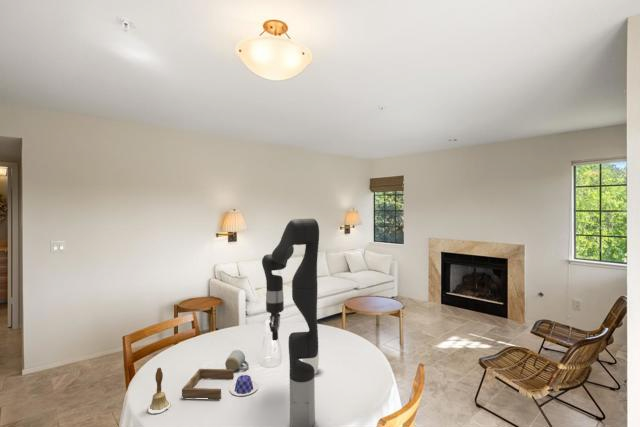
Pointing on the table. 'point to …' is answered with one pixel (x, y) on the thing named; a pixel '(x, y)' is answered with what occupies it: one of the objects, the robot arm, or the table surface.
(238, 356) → the ceramic mug
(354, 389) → the table surface
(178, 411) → the table surface
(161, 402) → the hand bell
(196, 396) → the corral
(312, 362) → the white cup
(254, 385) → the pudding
